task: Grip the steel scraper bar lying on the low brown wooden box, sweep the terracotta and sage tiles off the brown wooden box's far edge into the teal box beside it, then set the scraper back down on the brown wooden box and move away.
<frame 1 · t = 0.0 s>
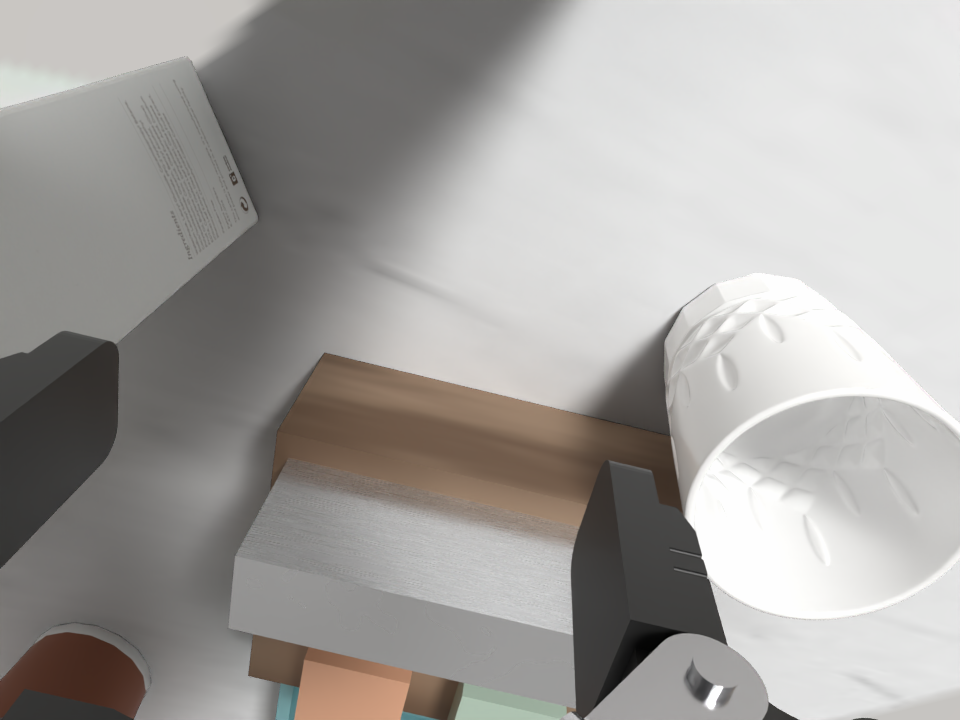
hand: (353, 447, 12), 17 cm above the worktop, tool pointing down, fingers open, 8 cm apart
terracotta tile: (361, 664, 31), point 6 cm above the worktop, touching brown wooden box
steel scraper bar: (474, 536, 27), point 6 cm above the worktop, touching brown wooden box
skincare box: (137, 174, 29), on the worktop
coffee cup: (95, 663, 42), on the worktop
sage tile: (505, 697, 31), point 6 cm above the worktop, touching brown wooden box
teal box: (425, 668, 39), on the worktop
brown wooden box: (469, 511, 34), on the worktop
white cup: (748, 350, 30), on the worktop
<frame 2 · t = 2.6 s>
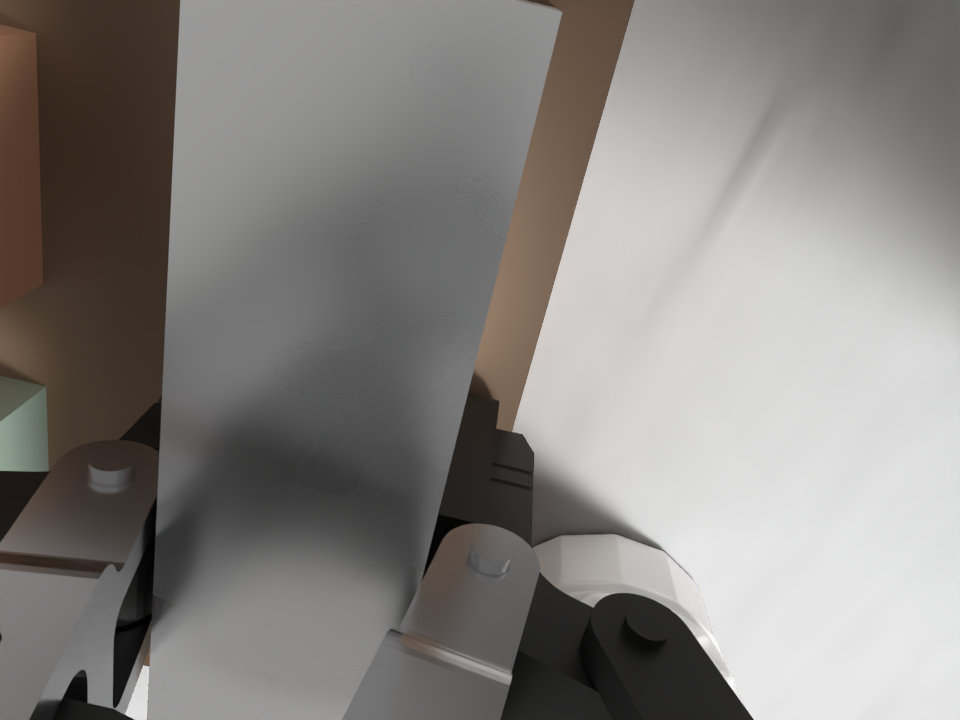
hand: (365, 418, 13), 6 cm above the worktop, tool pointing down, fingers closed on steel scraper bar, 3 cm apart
steel scraper bar: (369, 414, 13), point 6 cm above the worktop, touching gripper, brown wooden box
brown wooden box: (272, 259, 19), on the worktop
white cup: (591, 615, 23), on the worktop
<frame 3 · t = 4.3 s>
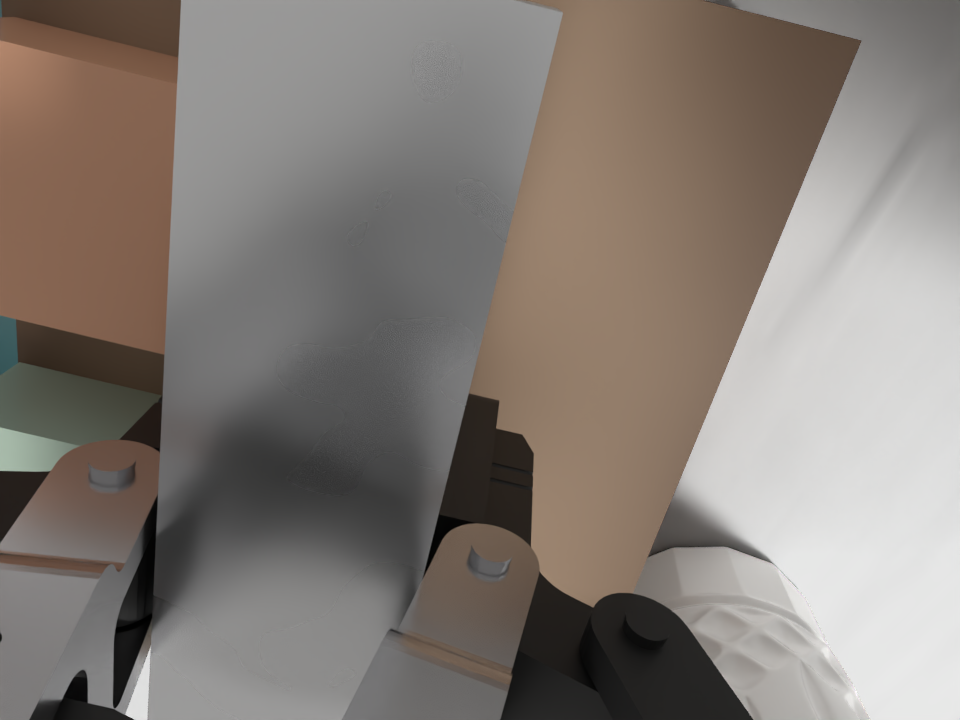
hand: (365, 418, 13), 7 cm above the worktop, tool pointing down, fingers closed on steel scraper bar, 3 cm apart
terracotta tile: (139, 176, 13), point 6 cm above the worktop, touching brown wooden box
steel scraper bar: (369, 414, 13), point 7 cm above the worktop, touching gripper
sage tile: (123, 473, 15), point 6 cm above the worktop, touching gripper, brown wooden box
brown wooden box: (407, 281, 19), on the worktop
white cup: (694, 625, 24), on the worktop
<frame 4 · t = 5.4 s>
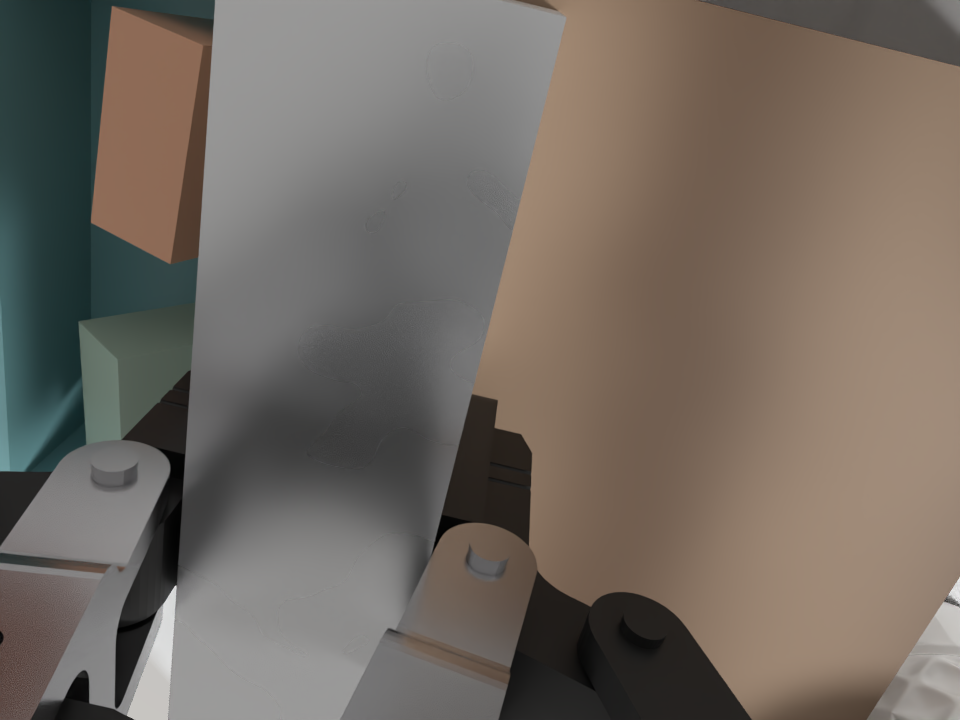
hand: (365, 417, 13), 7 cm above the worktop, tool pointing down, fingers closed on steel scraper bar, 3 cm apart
terracotta tile: (258, 154, 15), point 3 cm above the worktop, tilted 109°, touching teal box
steel scraper bar: (378, 401, 14), point 6 cm above the worktop, touching gripper
sage tile: (209, 418, 18), point 3 cm above the worktop, tilted 130°, touching teal box
teal box: (224, 238, 19), on the worktop
brown wooden box: (627, 335, 19), on the worktop
white cup: (872, 666, 24), on the worktop
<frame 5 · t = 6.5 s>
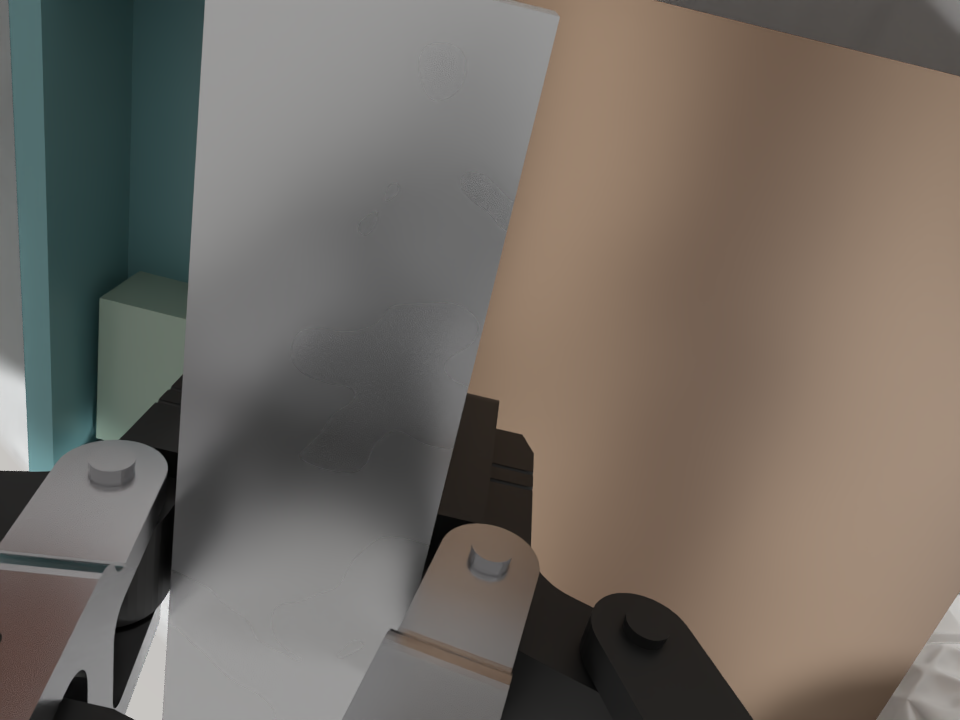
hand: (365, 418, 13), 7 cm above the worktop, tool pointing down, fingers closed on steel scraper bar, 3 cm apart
steel scraper bar: (374, 403, 14), point 7 cm above the worktop, touching gripper
sage tile: (177, 390, 19), point 2 cm above the worktop, tilted 180°, touching teal box
teal box: (258, 244, 20), on the worktop
brown wooden box: (649, 336, 20), on the worktop
white cup: (884, 656, 24), on the worktop
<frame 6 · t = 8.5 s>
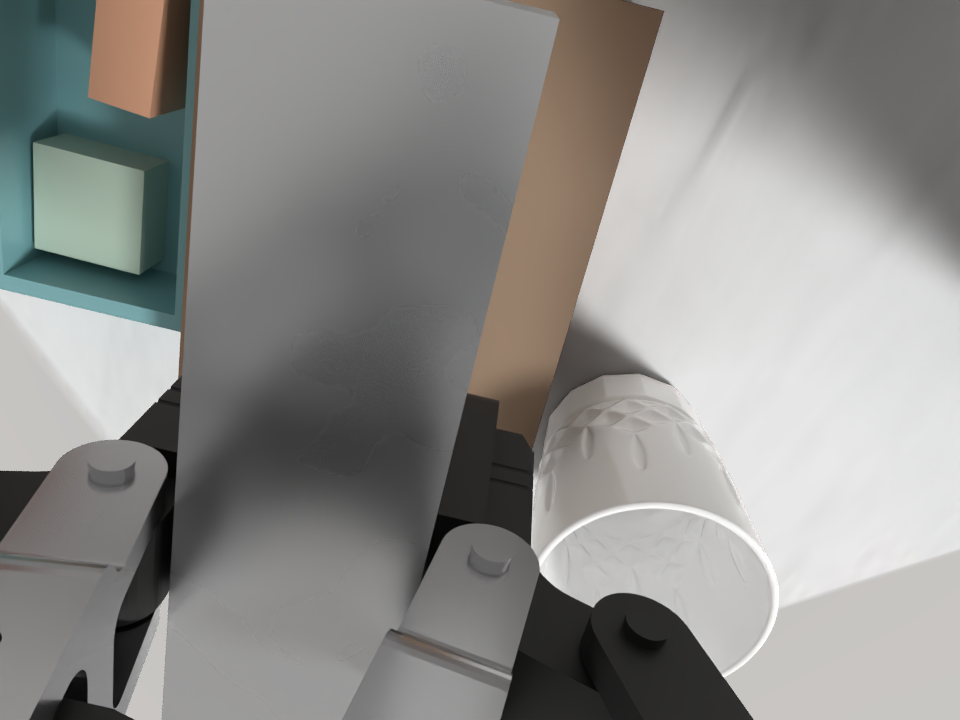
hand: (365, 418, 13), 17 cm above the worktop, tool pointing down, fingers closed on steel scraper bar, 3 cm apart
terracotta tile: (185, 50, 25), point 2 cm above the worktop, tilted 90°, touching teal box
steel scraper bar: (374, 404, 14), point 17 cm above the worktop, touching gripper
sage tile: (87, 210, 28), point 2 cm above the worktop, tilted 180°, touching teal box
teal box: (146, 114, 29), on the worktop
brown wooden box: (419, 181, 29), on the worktop
white cup: (621, 438, 33), on the worktop
when the fingers open (8 cm above the worktop, at t = 10.4 s): steel scraper bar stays where it is, resting on brown wooden box.
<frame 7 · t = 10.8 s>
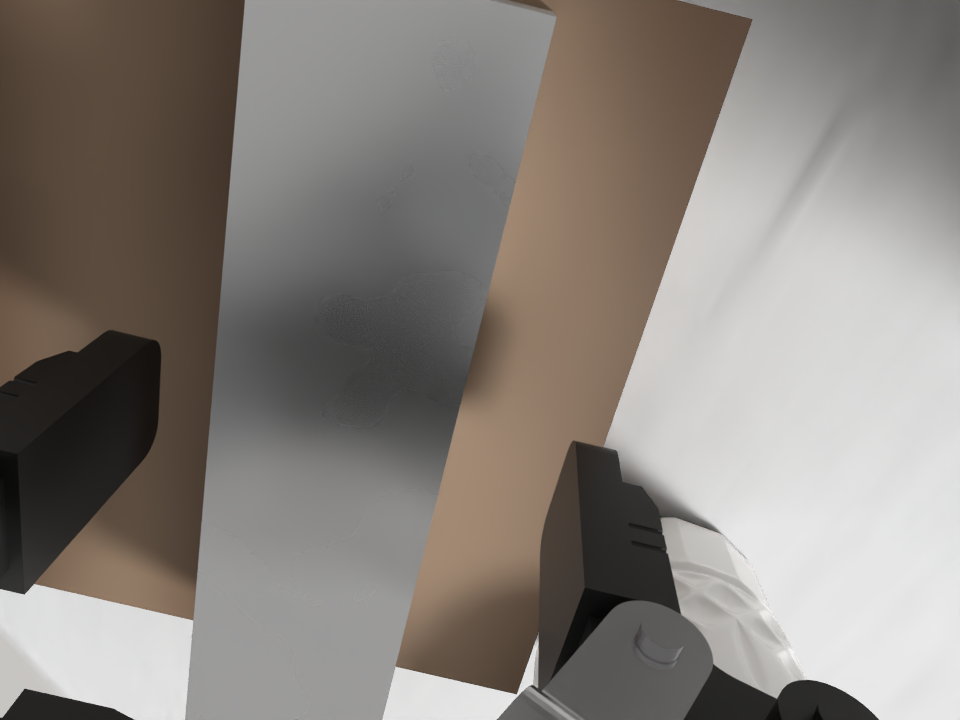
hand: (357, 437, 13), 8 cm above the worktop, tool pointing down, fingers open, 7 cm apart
steel scraper bar: (383, 378, 15), point 6 cm above the worktop, touching brown wooden box
brown wooden box: (363, 260, 20), on the worktop
white cup: (648, 595, 24), on the worktop
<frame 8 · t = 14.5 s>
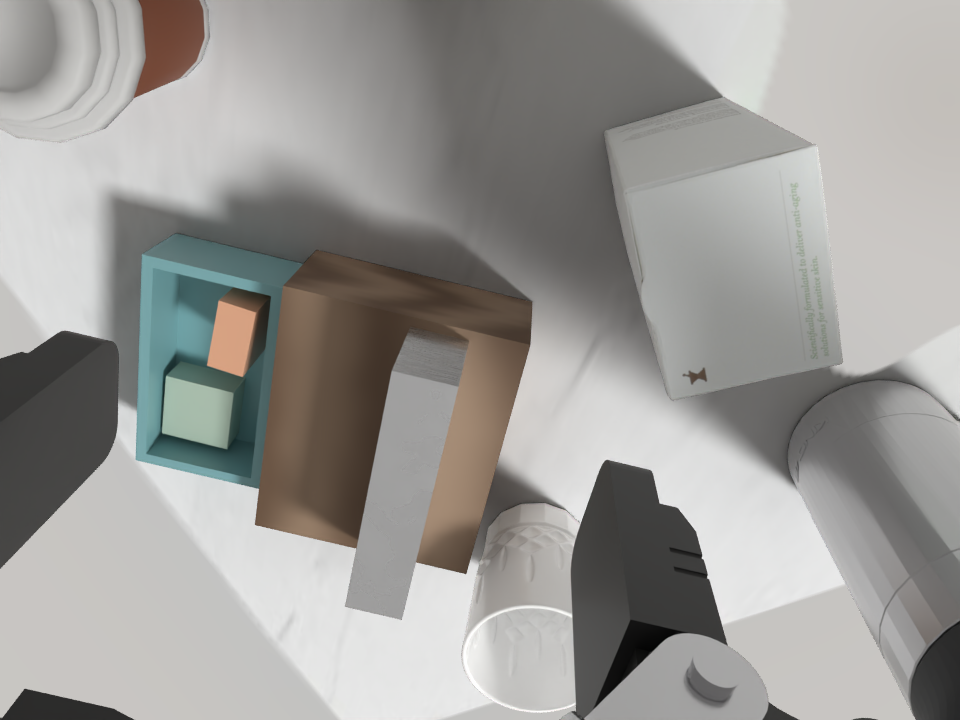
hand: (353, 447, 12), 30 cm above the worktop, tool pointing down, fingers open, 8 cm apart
terracotta tile: (261, 330, 42), point 2 cm above the worktop, tilted 90°, touching teal box
steel scraper bar: (413, 450, 41), point 6 cm above the worktop, touching brown wooden box
skincare box: (672, 186, 40), on the worktop
coffee cup: (149, 16, 39), on the worktop
sage tile: (197, 413, 45), point 2 cm above the worktop, tilted 180°, touching teal box
teal box: (231, 349, 46), on the worktop
brown wooden box: (401, 390, 46), on the worktop
white cup: (536, 541, 51), on the worktop
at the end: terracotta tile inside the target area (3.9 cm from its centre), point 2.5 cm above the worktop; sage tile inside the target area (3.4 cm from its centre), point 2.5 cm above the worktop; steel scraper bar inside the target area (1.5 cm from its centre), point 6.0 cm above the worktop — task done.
